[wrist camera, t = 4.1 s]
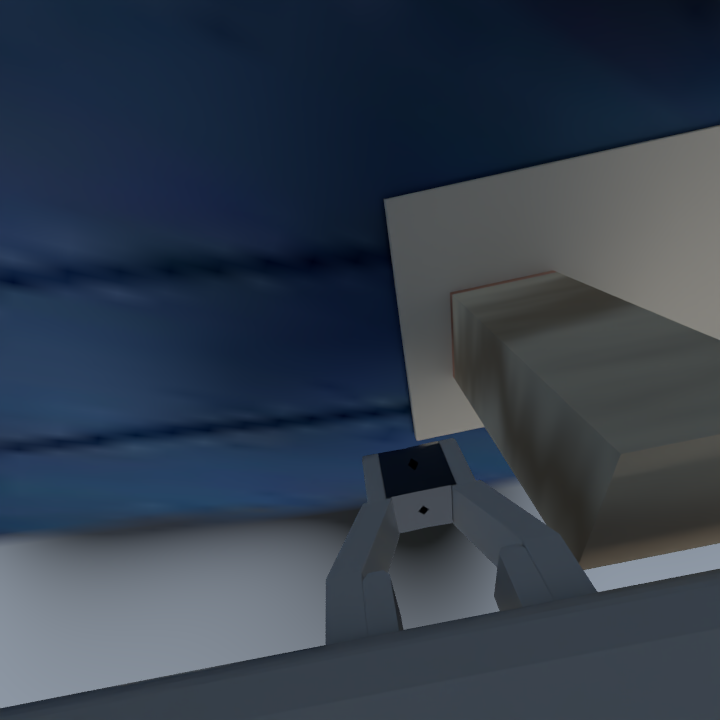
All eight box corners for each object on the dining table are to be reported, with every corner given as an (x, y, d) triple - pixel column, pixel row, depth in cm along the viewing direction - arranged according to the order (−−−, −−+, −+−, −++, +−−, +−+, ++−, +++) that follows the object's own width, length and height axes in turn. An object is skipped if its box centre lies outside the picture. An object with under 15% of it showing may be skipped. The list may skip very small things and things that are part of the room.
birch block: (449, 292, 15) (620, 454, 6) (553, 270, 15) (869, 403, 6) (452, 376, 17) (575, 571, 9) (540, 358, 17) (750, 536, 9)
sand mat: (383, 199, 13) (385, 200, 12) (864, 92, 12) (883, 89, 12) (414, 435, 20) (416, 440, 20) (718, 372, 20) (727, 376, 19)
